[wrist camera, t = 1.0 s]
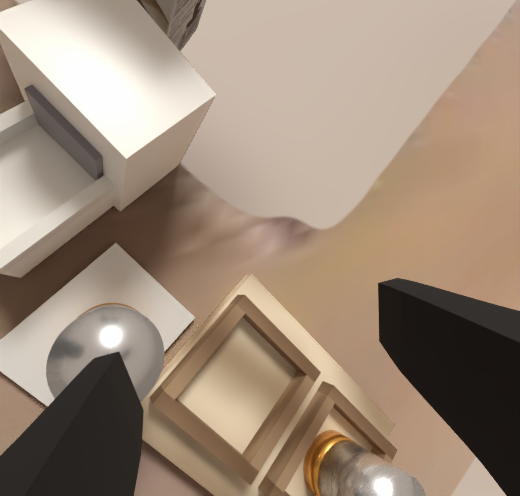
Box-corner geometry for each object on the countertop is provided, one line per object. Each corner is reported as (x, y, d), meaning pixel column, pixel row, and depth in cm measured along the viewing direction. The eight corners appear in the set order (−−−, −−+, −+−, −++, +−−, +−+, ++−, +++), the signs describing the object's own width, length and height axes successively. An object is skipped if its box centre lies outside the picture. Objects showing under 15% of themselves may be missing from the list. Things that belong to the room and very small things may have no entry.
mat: (88, 434, 16) (88, 437, 16) (-17, 355, 15) (-20, 356, 14) (193, 317, 19) (195, 317, 19) (115, 243, 18) (115, 242, 18)
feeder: (28, 284, 16) (-36, 275, 9) (-74, 198, 15) (-246, 106, 8) (179, 164, 20) (216, 94, 13) (110, 90, 19) (111, -31, 12)
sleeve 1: (108, 395, 16) (107, 443, 11) (46, 346, 16) (13, 372, 10) (164, 335, 18) (186, 351, 13) (111, 287, 17) (111, 283, 12)
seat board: (312, 568, 21) (334, 596, 19) (121, 416, 17) (123, 432, 15) (384, 419, 25) (408, 430, 23) (245, 274, 21) (259, 272, 19)
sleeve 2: (331, 509, 21) (407, 583, 15) (292, 475, 20) (359, 541, 14) (359, 451, 22) (437, 499, 17) (325, 417, 21) (396, 457, 16)
